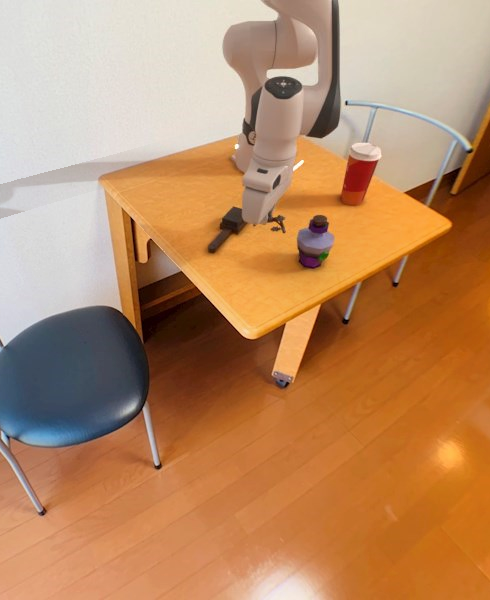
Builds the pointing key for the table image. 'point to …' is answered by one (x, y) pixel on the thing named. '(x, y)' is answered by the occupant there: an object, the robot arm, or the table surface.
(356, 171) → the coffee cup
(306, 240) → the potion bottle
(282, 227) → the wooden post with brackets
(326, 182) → the table surface
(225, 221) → the mallet
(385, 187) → the table surface
